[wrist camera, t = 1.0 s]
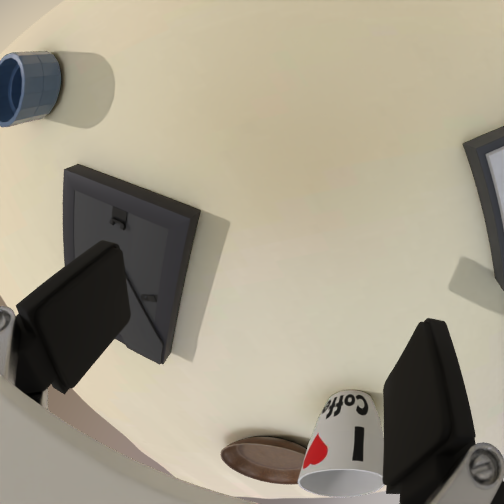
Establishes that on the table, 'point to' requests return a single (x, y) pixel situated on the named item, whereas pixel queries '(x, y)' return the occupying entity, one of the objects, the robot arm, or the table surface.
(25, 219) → the table surface
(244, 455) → the saucer
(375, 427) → the cup
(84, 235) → the picture frame
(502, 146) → the scale
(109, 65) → the table surface
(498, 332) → the table surface
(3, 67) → the blue round container
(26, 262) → the table surface
